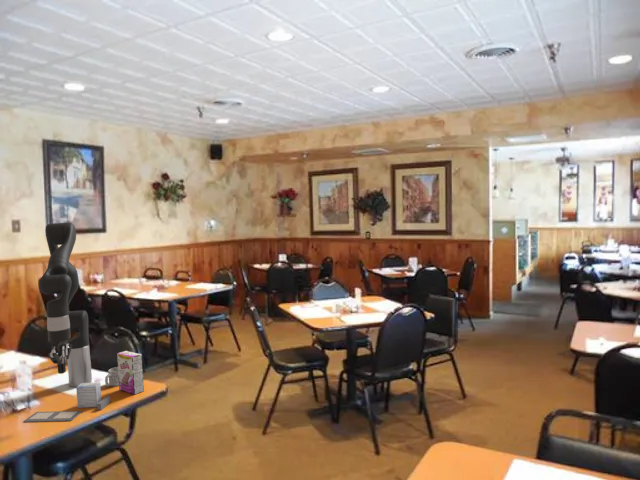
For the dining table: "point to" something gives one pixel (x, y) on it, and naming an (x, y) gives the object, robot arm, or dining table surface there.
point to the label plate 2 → (65, 416)
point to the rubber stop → (103, 403)
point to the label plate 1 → (40, 416)
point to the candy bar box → (130, 372)
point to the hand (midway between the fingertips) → (62, 372)
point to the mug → (112, 377)
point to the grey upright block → (88, 394)
